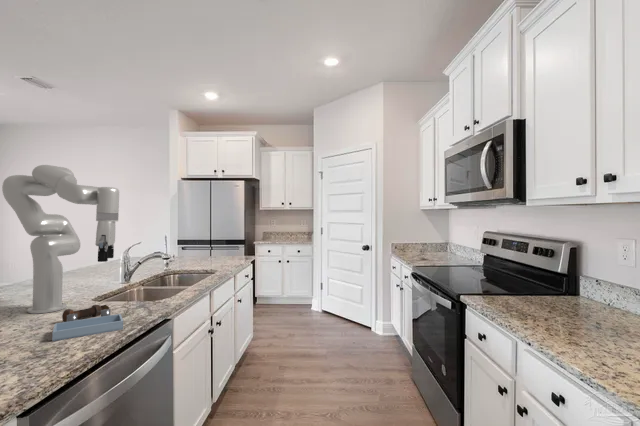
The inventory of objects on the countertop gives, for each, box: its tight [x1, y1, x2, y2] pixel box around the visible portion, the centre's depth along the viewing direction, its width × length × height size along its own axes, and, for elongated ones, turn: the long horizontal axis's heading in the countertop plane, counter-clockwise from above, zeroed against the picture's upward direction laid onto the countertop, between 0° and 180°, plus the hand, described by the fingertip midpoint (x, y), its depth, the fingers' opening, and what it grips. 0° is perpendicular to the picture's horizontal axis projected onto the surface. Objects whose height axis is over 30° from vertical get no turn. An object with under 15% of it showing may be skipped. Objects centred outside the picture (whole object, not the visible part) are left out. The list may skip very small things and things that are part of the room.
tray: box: [51, 313, 124, 342], centre depth 111 cm, size 10×19×3 cm, turn 127°
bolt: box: [61, 304, 110, 322], centre depth 125 cm, size 6×5×15 cm
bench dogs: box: [67, 308, 111, 322], centre depth 117 cm, size 3×13×4 cm, turn 126°
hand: (105, 259), depth 129 cm, fingers open, 9 cm apart
